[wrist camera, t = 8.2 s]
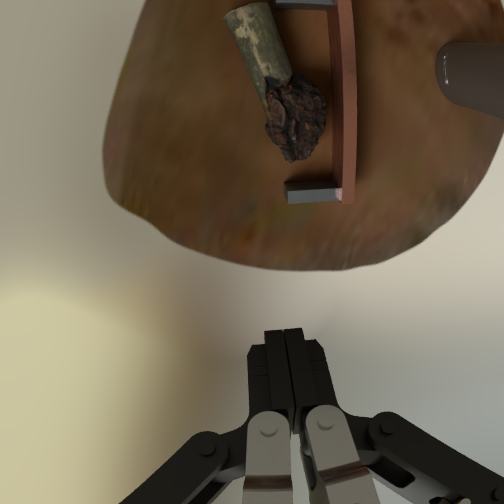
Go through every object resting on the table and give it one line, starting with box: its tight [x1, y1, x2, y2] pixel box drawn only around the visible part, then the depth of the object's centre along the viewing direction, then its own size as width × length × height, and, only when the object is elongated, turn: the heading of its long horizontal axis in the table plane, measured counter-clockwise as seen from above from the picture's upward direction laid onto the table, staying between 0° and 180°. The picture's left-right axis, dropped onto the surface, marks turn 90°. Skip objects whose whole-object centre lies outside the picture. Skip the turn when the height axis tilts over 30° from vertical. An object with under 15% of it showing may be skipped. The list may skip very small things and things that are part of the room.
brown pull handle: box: [272, 0, 357, 204], centre depth 29 cm, size 8×24×4 cm, turn 4°
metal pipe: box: [224, 2, 327, 163], centre depth 27 cm, size 18×7×6 cm, turn 19°
